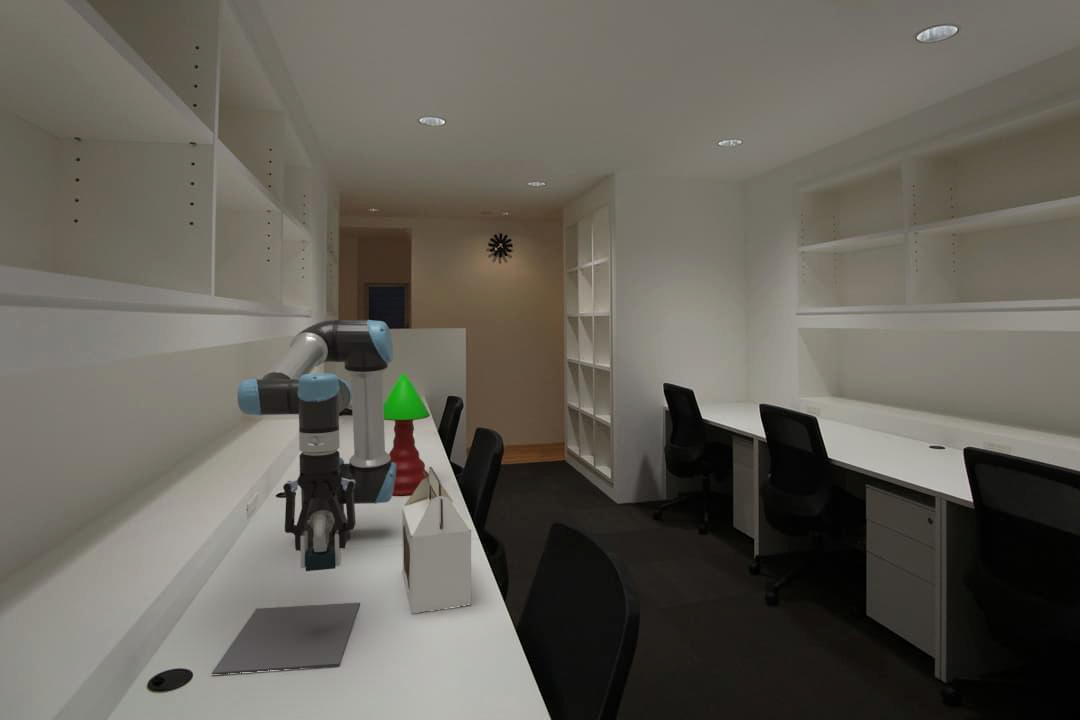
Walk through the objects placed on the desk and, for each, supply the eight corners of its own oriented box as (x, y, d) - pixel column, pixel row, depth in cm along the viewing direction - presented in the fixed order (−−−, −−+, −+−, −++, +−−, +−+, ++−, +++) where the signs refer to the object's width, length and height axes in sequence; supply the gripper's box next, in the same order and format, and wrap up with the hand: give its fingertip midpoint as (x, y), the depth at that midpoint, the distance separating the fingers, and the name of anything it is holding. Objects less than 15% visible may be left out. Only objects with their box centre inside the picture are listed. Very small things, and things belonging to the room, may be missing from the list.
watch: (337, 556, 123) (336, 504, 122) (334, 572, 115) (333, 517, 115) (309, 558, 122) (308, 506, 121) (304, 575, 114) (303, 519, 113)
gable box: (402, 573, 148) (401, 465, 147) (454, 567, 153) (454, 461, 151) (411, 615, 127) (411, 488, 126) (471, 606, 131) (471, 484, 130)
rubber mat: (256, 611, 128) (256, 608, 128) (360, 605, 132) (360, 602, 132) (211, 676, 105) (211, 672, 105) (339, 666, 108) (339, 663, 108)
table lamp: (373, 485, 230) (372, 370, 227) (423, 479, 238) (423, 369, 235) (382, 498, 212) (381, 375, 209) (436, 492, 220) (436, 373, 217)
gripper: (263, 456, 112) (266, 575, 113) (365, 454, 115) (367, 569, 116) (275, 448, 119) (277, 559, 120) (370, 446, 122) (371, 554, 124)
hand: (321, 564), depth 118 cm, fingers closed on watch, 6 cm apart
